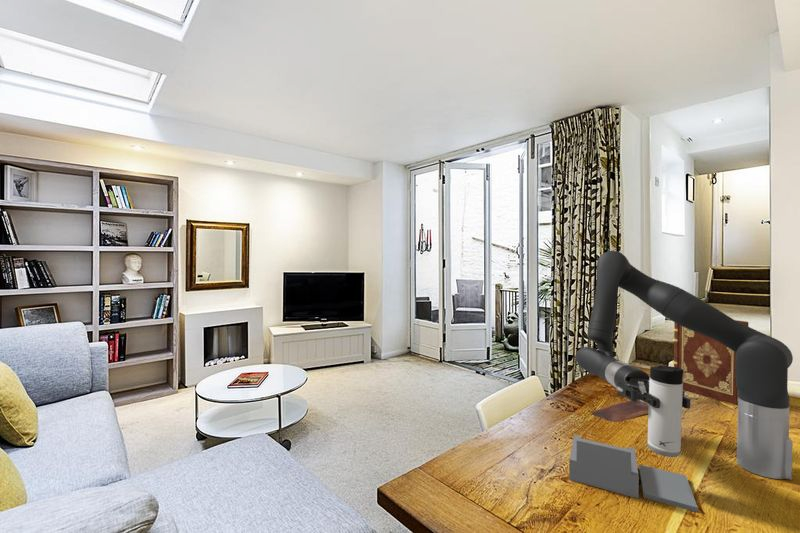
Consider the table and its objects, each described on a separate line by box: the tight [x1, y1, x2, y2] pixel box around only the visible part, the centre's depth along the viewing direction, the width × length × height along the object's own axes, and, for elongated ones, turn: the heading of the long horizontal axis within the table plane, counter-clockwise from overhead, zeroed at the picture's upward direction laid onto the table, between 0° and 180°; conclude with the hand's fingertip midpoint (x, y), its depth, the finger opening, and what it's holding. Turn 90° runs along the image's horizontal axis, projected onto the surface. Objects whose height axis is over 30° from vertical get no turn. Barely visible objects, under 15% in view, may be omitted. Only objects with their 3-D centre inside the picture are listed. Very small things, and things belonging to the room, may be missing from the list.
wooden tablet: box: [590, 399, 649, 423], centre depth 127 cm, size 26×2×10 cm
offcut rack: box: [568, 434, 640, 500], centre depth 90 cm, size 14×14×10 cm
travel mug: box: [647, 365, 684, 458], centre depth 84 cm, size 6×7×20 cm
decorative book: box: [672, 319, 749, 406], centre depth 143 cm, size 22×8×30 cm, turn 25°
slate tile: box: [638, 464, 699, 513], centre depth 84 cm, size 10×13×1 cm
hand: (673, 404), depth 82 cm, fingers closed on travel mug, 6 cm apart
